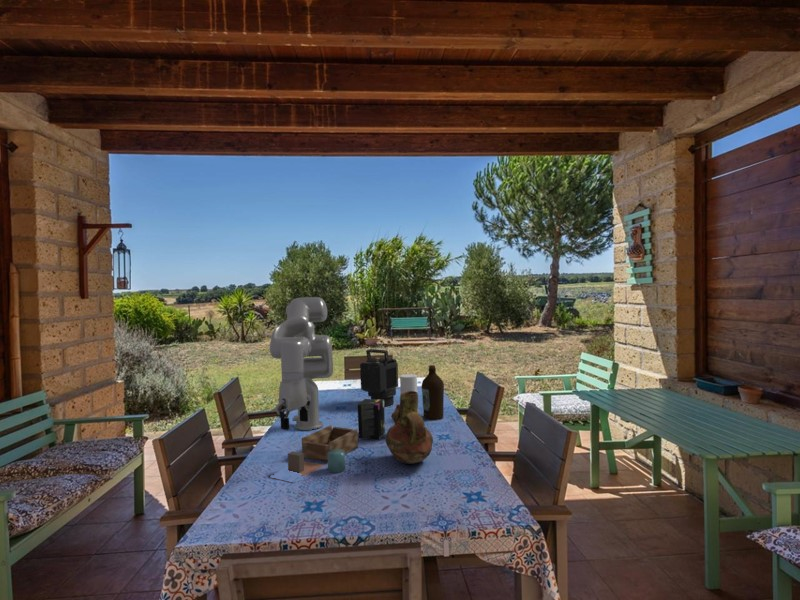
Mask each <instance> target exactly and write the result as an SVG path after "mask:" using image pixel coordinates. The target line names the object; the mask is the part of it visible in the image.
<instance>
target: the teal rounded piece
mask: <svg viewBox="0 0 800 600" xmlns="http://www.w3.org/2000/svg"><path fill="white" fill-rule="evenodd" d="M327 457H328V463H327V471H328V472H329V473H332V474H337V473H338V474H340V473H343V472H344V471H346V455H345V451H344V450H340V449H336V450H331V451H329V452H328V453H327Z"/></svg>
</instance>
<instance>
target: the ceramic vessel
mask: <svg viewBox="0 0 800 600" xmlns="http://www.w3.org/2000/svg"><path fill="white" fill-rule="evenodd" d="M423 418H424V417H422V415H421V414H420V413H419V393H418V391H417V392H415V391H409V392H405V393H401V392H400V396H399V404H396V405H395V409H394V411H393V412H392V413H391V419H392V420H393V423H394V424H393V425H392V426H390V427H389V428H388V430H387V431H386V433H385V444H386V447H387V448H388V450H389V452H390V453H391V455H392V456H393V457H394V458H395V459H397V460H398V461H399V462H400V463H402V464H417V463H420V462H423V461H424V460H425V459H427V458H428V457H429V456H430V455H431V452H432V449H433V443H434V436H433V435H432V433H431V432H430V430H429V429H427V427H426V425H425V421H424V419H423Z"/></svg>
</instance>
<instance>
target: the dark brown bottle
mask: <svg viewBox="0 0 800 600" xmlns="http://www.w3.org/2000/svg"><path fill="white" fill-rule="evenodd" d="M444 387H445V385H444V380H443V379H442V378H441V377H440V376H439V375H438V374H437V369H436V365H435V364H429V365H428V374H427V375H426V376H425V378H424V379H423V380H422V382H421V396H422V410H423V418H424V420H427V419H429V420H428V421H438V420H437V419H439V420H442V419H444V400H445V399H444V397H445V392H444V391H445V388H444Z"/></svg>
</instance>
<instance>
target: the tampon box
mask: <svg viewBox="0 0 800 600" xmlns="http://www.w3.org/2000/svg"><path fill="white" fill-rule="evenodd" d="M385 419H386V417H385V407H384V399H371V398H364V399H363V400H361V401H360V402H358V404H357V422H358V427H357V431H358V440H374V441H375V440H379V441H380V440H381V438H382V437H383V436H384V435H385V434H386V427H385V424H386V421H385Z"/></svg>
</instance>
